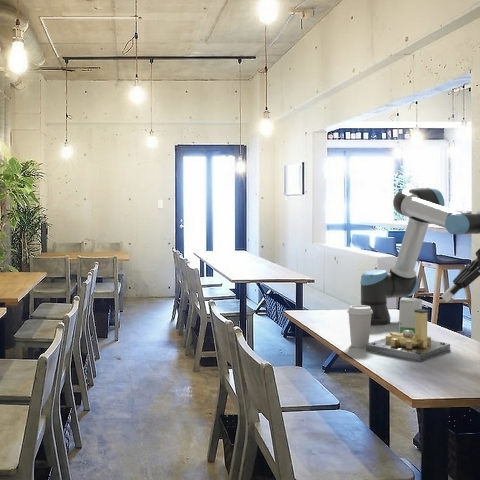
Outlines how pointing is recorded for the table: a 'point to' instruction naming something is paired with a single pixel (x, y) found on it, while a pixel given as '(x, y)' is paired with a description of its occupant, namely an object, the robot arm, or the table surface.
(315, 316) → the table surface
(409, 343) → the brass gear wheel
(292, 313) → the table surface
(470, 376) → the table surface
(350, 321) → the coffee cup
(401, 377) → the table surface
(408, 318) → the skincare box
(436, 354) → the steel plate
